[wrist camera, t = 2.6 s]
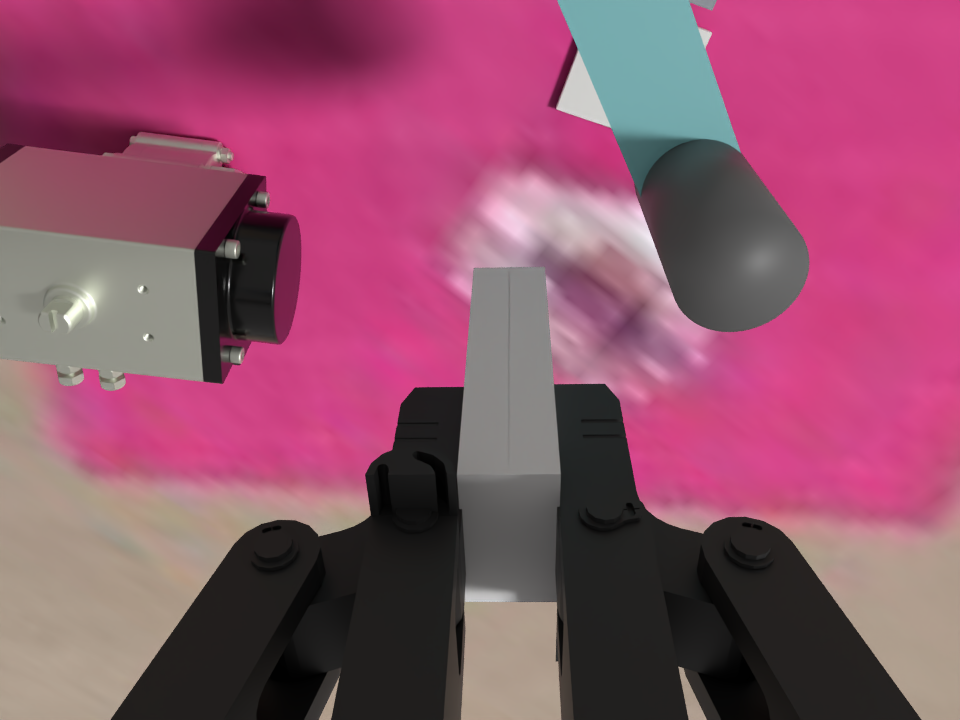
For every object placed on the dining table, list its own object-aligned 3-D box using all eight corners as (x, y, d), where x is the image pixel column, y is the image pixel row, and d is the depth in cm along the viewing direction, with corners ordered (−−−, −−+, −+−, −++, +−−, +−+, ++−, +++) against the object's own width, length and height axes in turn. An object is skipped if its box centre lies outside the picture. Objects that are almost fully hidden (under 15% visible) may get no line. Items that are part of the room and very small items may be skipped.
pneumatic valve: (30, 98, 32) (-182, 224, 22) (330, 137, 33) (256, 277, 23) (53, 228, 35) (-125, 390, 25) (327, 261, 36) (260, 433, 26)
